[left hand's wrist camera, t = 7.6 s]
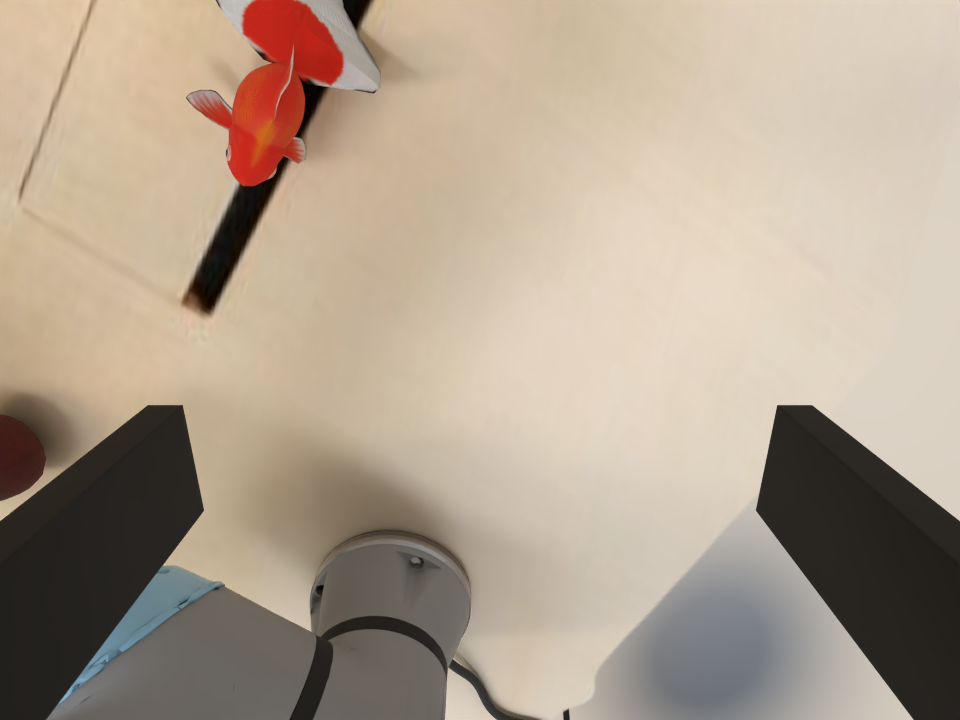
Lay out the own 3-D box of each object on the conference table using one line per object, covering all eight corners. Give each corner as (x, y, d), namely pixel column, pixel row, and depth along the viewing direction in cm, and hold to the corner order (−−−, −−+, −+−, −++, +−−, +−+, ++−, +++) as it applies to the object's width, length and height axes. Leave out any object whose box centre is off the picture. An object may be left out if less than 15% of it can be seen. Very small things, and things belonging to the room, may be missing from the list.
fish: (115, 97, 36) (113, 62, 28) (265, -77, 38) (305, -159, 30) (260, 212, 42) (295, 211, 34) (383, 54, 44) (444, 17, 36)
